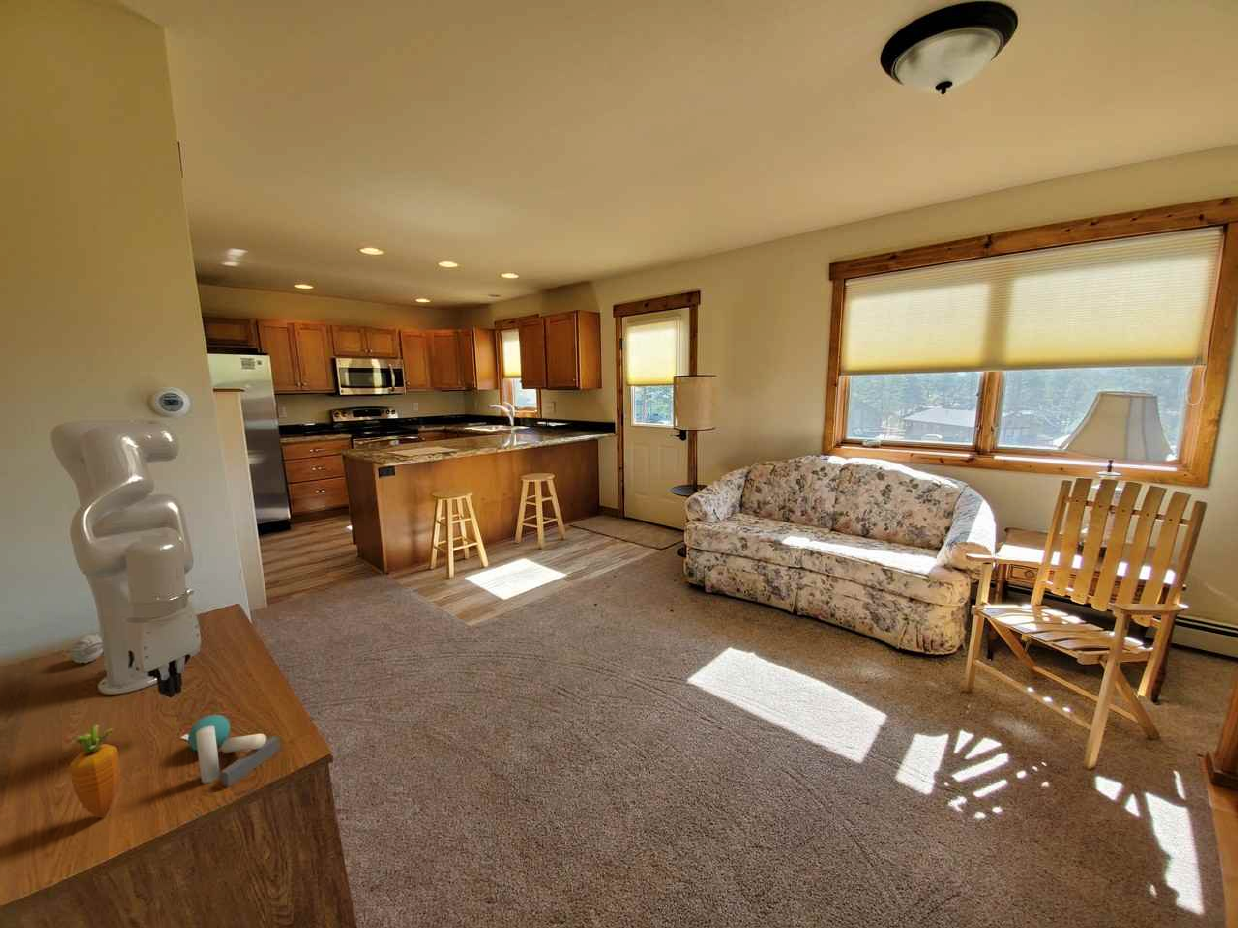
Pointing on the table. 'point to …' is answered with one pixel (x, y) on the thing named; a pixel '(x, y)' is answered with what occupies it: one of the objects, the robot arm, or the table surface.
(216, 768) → the white cylinder rod
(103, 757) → the carrot
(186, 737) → the lane line
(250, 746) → the ivory pin
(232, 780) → the wall
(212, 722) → the ball
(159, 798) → the table surface
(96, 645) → the white ridged lump
